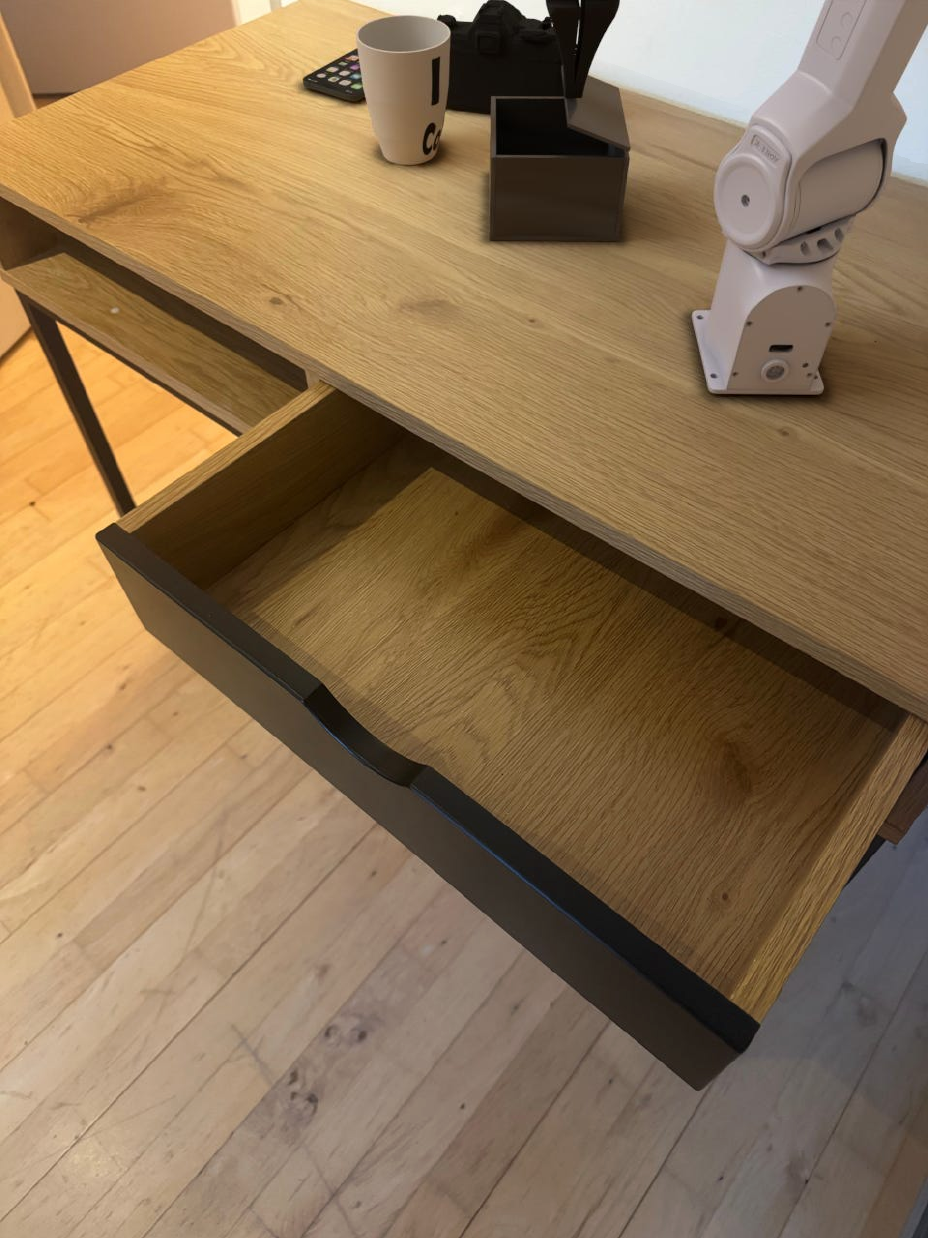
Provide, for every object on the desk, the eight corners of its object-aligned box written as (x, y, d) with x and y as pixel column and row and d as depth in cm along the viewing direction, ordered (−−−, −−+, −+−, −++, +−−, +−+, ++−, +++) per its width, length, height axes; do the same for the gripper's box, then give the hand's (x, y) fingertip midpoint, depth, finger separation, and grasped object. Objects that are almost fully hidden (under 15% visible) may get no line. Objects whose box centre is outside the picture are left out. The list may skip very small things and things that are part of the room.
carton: (489, 176, 82) (491, 95, 77) (608, 177, 82) (618, 96, 77) (489, 240, 76) (491, 156, 70) (618, 241, 76) (630, 157, 70)
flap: (560, 67, 75) (562, 63, 75) (617, 91, 76) (619, 87, 76) (567, 127, 69) (569, 123, 68) (629, 151, 70) (631, 147, 70)
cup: (441, 176, 82) (439, 55, 74) (356, 168, 83) (344, 48, 75) (459, 135, 87) (459, 18, 79) (378, 128, 88) (369, 11, 80)
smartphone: (439, 46, 98) (355, 96, 91) (440, 53, 99) (355, 103, 91) (385, 31, 101) (298, 79, 93) (385, 38, 101) (299, 86, 94)
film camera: (585, 84, 94) (595, -17, 87) (566, 126, 88) (575, 21, 81) (445, 68, 97) (443, -31, 89) (418, 108, 91) (414, 5, 84)
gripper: (691, -141, 63) (658, 71, 74) (483, -142, 63) (481, 70, 74) (706, -111, 59) (669, 110, 70) (483, -111, 59) (480, 109, 70)
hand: (572, 92), depth 72 cm, fingers closed
